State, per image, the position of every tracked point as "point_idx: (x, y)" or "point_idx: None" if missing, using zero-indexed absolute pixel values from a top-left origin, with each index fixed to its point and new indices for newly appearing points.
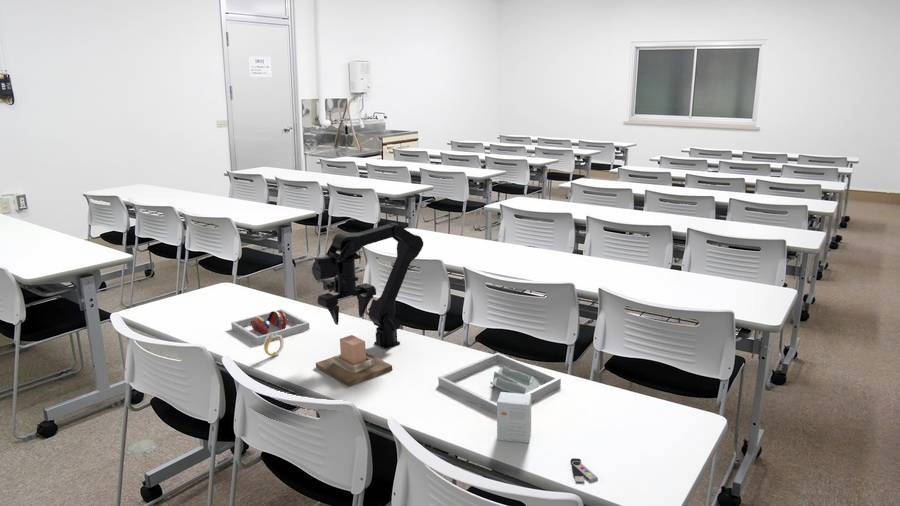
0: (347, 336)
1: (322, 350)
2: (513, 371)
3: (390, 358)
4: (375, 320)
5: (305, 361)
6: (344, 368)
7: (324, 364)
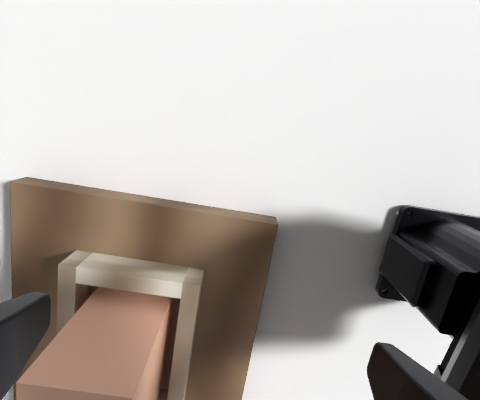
0: (88, 393)
1: (177, 33)
2: None
3: (310, 364)
4: (464, 369)
5: (26, 73)
6: None
7: (33, 231)
